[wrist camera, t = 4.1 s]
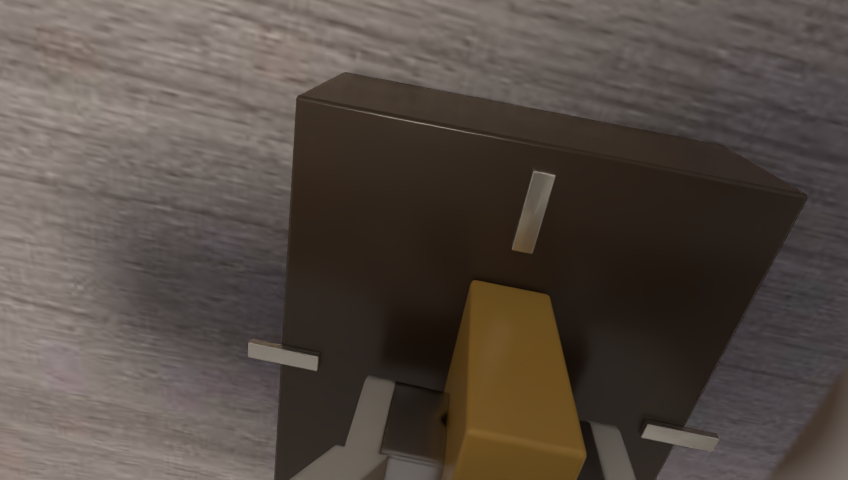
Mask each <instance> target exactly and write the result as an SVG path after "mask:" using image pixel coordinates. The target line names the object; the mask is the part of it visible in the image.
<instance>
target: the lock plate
mask: <svg viewBox="0 0 848 480" xmlns="http://www.w3.org/2000/svg"><path fill="white" fill-rule="evenodd" d="M806 200H807V195H806V194H805V193H803V192H801V191H800V190H798V189H796V188H795V187H793V186H791V185H789V184H788V183H786V182H784V181H783V180H781V179H779V178H778V177H776V176H774V175H773V174H771V173H769V172H767V171H766V170H764V169H762V168H761V167H759V166H757V165H756V164H754V163H752V162H751V161H749V160H747V159H745V158H744V157H742V156H740V155H739V154H737V153H735V152H734V151H732V150H730V149H728V148H727V147H725V146H723V145H718V144H713V143H708V142H703V141H698V140H693V139H687V138H682V137H677V136H672V135H667V134H662V133H656V132H651V131H646V130H641V129H636V128H631V127H625V126H620V125H615V124H610V123H605V122H600V121H594V120H589V119H584V118H579V117H574V116H569V115H563V114H558V113H553V112H548V111H543V110H538V109H532V108H527V107H522V106H517V105H512V104H507V103H501V102H496V101H491V100H486V99H481V98H476V97H470V96H465V95H460V94H455V93H450V92H445V91H439V90H434V89H429V88H424V87H419V86H414V85H408V84H403V83H398V82H393V81H388V80H383V79H377V78H372V77H367V76H362V75H357V74H352V73H346V72H345V73H342V74H340V75H338V76H336V77H334V78H332V79H330V80H328V81H326V82H324V83H322V84H320V85H318V86H316V87H314V88H312V89H310V90H309V91H307V92H305V93H303V94H301V95H299V96H298V97H297V99H296V114H295V132H294V149H293V166H292V183H291V200H290V218H289V235H288V252H287V269H286V286H285V303H284V321H283V338H282V344H277V343H272V342H267V341H262V340H257V339H252V338H251V339H250V341H249V342H248V357H250V358H255V359H260V360H265V361H270V362H275V363H279V364H281V372H280V389H279V406H278V424H277V441H276V458H275V475H274V480H290V479H291V478H292V477H294V476H295V475H296V474H298V473H299V472H300V471H302V470H303V469H304V468H306V467H307V466H308V465H310V464H311V463H312V462H314V461H315V460H316V459H318V458H319V457H320V456H322V455H323V454H324V453H326V452H327V451H328V450H330V449H331V448H332V447H334V446H335V445H339V446H345V444H346V440H347V437H348V434H349V431H350V428H351V424H352V421H353V418H354V415H355V411H356V408H357V405H358V402H359V398H360V395H361V392H362V389H363V385H364V382H365V380H366V378H367V377H368V375H370V376H374V377H378V378H383V379H387V380H391V381H395V384H396V381H398V382H403V383H407V384H411V385H416V386H420V387H424V388H429V389H433V390H437V391H442V392H444V389H445V385H446V381H447V377H448V373H449V369H450V365H451V361H452V357H453V353H454V349H455V345H456V341H457V337H458V332H459V328H460V324H461V320H462V316H463V312H464V308H465V304H466V300H467V296H468V292H469V288H470V284H471V282H472V281H473V280H478V281H483V282H488V283H493V284H498V285H503V286H508V287H513V288H518V289H523V290H528V291H533V292H538V293H543V294H547V295H549V296H550V299H551V304H552V308H553V312H554V317H555V321H556V325H557V329H558V334H559V338H560V342H561V346H562V351H563V355H564V359H565V363H566V368H567V372H568V376H569V381H570V385H571V389H572V393H573V398H574V402H575V406H576V410H577V415H578V419H579V420H584V421H592V422H597V423H603V424H608V425H614V426H616V427H617V428H618V429H619V430H620V433H621V436H622V439H623V442H624V445H625V448H626V451H627V454H628V457H629V460H630V463H631V466H632V469H633V472H634V475H635V478H636V480H656V478H657V476H658V474H659V472H660V470H661V469H662V467H663V465H664V463H665V461H666V459H667V458H668V456H669V454H670V452H671V450H672V448H673V446H674V445H680V446H685V447H690V448H694V449H699V450H704V451H709V452H713V450H714V449H715V447H716V445H717V443H718V442H719V440H720V438H719V437H718V435H717V433H713V432H708V431H703V430H698V429H693V428H688V427H684V426H685V424H686V422H687V420H688V419H689V417H690V415H691V413H692V411H693V409H694V408H695V406H696V404H697V402H698V400H699V398H700V396H701V395H702V393H703V391H704V389H705V387H706V385H707V383H708V382H709V380H710V378H711V376H712V374H713V372H714V370H715V369H716V367H717V365H718V363H719V361H720V359H721V357H722V356H723V354H724V352H725V350H726V348H727V346H728V345H729V343H730V341H731V339H732V337H733V335H734V333H735V332H736V330H737V328H738V326H739V324H740V322H741V320H742V319H743V317H744V315H745V313H746V311H747V309H748V307H749V306H750V304H751V302H752V300H753V298H754V296H755V295H756V293H757V291H758V289H759V287H760V285H761V283H762V282H763V280H764V278H765V276H766V274H767V272H768V270H769V269H770V267H771V265H772V263H773V261H774V259H775V257H776V256H777V254H778V252H779V250H780V248H781V246H782V245H783V243H784V241H785V239H786V237H787V235H788V233H789V232H790V230H791V228H792V226H793V224H794V222H795V220H796V219H797V217H798V215H799V213H800V211H801V209H802V207H803V206H804V204H805V202H806ZM394 389H395V388H394Z"/></svg>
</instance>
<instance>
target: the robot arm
mask: <svg viewBox="0 0 848 480" xmlns="http://www.w3.org/2000/svg"><path fill="white" fill-rule="evenodd" d="M394 388H395V389H394ZM449 403H450V393H446V392H442V391H437V390H433V389H429V388H424V387H420V386H416V385H411V384H407V383H403V382H398V381H396V384H395V381H391V380H387V379H383V378H378V377H374V376H370V375H368V377H367V378H366V380H365V382H364V385H363V389H362V392H361V395H360V398H359V402H358V405H357V408H356V411H355V415H354V418H353V421H352V424H351V428H350V431H349V434H348V437H347V440H346V444H345V446H339V445H335V446H334V447H332V448H331V449H330V450H328V451H327V452H326V453H324V454H323V455H322V456H320V457H319V458H318V459H316V460H315V461H314V462H312V463H311V464H310V465H308V466H307V467H306V468H304V469H303V470H302V471H300V472H299V473H298V474H296V475H295V476H294V477H292V478H291V479H290V480H441V477H442V474H443V470H444V466H445V455H446V442H447V428H446V427H445V424H446V420H447V416H448V412H449ZM579 423H580V427H581V432H582V436H583V440H584V445H585V449H586V454H587V456H586V459H585V462H584V464H583V466H582V469H581V471H580V473H579V475H578V478H577V480H636V478H635V475H634V472H633V469H632V466H631V463H630V460H629V457H628V454H627V451H626V448H625V445H624V442H623V439H622V436H621V433H620V430H619V429H618V428H617V427H616V426H614V425H608V424H603V423H597V422H592V421H584V420H579Z"/></svg>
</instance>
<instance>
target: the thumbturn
mask: <svg viewBox="0 0 848 480" xmlns="http://www.w3.org/2000/svg"><path fill="white" fill-rule="evenodd" d="M444 392H446V393H450V403H449V412H448V416H447V420H446V424H445V427H446V428H447V442H446V455H445V466H444V470H443V474H442V477H441V480H577V478H578V475H579V473H580V471H581V469H582V466H583V464H584V462H585V459H586V456H587V454H586V449H585V445H584V440H583V436H582V432H581V427H580V423H579V419H578V415H577V410H576V406H575V402H574V398H573V393H572V389H571V385H570V381H569V376H568V372H567V368H566V363H565V359H564V355H563V351H562V346H561V342H560V338H559V334H558V329H557V325H556V321H555V317H554V312H553V308H552V304H551V299H550V296H549V295H547V294H543V293H538V292H533V291H528V290H523V289H518V288H513V287H508V286H503V285H498V284H493V283H488V282H483V281H478V280H473V281H472V282H471V284H470V288H469V292H468V296H467V300H466V304H465V308H464V312H463V316H462V320H461V324H460V328H459V332H458V337H457V341H456V345H455V349H454V353H453V357H452V361H451V365H450V369H449V373H448V377H447V381H446V385H445V389H444Z"/></svg>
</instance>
